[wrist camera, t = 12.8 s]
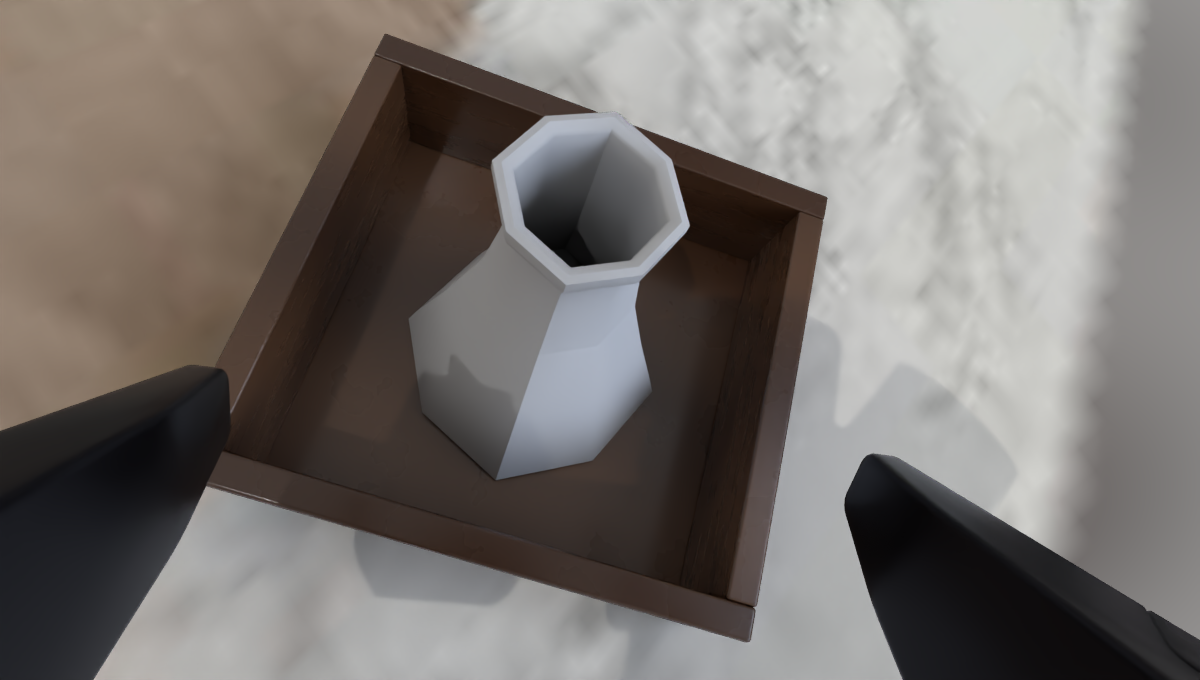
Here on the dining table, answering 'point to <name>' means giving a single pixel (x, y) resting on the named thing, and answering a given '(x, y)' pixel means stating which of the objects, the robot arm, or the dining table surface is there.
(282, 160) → the dining table surface
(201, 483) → the robot arm
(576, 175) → the flask
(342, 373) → the crate
